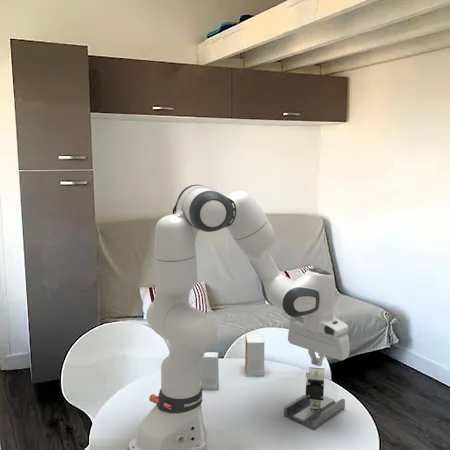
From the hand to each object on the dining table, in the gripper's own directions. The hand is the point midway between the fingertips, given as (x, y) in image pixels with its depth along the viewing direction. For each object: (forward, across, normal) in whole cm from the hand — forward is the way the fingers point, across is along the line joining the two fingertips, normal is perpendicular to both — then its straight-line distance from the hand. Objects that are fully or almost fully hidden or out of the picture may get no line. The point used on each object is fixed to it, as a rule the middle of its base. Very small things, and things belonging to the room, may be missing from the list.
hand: (316, 364), depth 156 cm
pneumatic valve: (+14, -1, 0) cm, 14 cm away
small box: (+16, -32, +8) cm, 37 cm away
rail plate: (+16, 0, 0) cm, 16 cm away
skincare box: (+16, -35, -12) cm, 40 cm away
